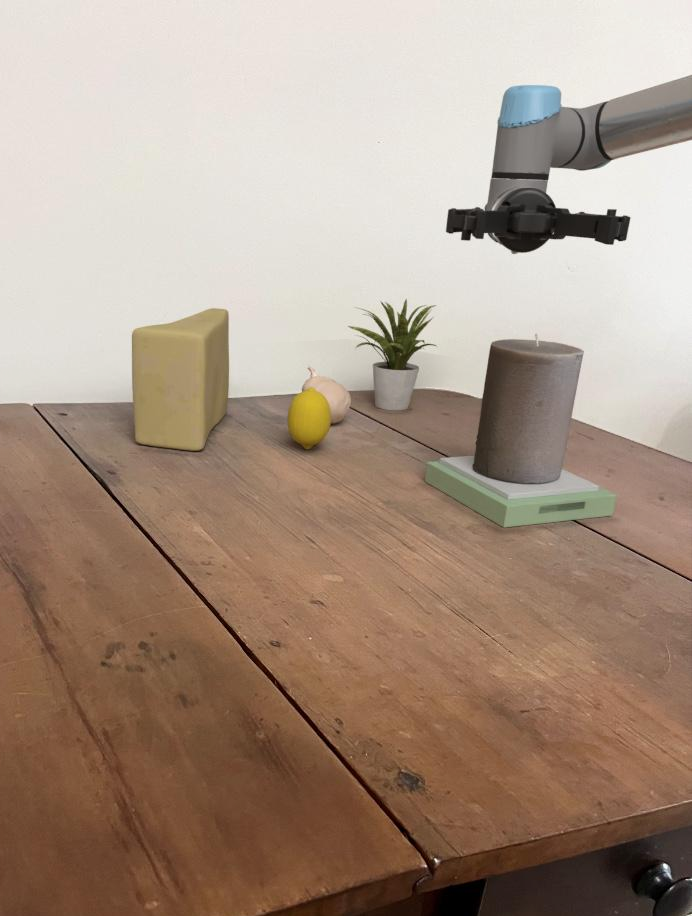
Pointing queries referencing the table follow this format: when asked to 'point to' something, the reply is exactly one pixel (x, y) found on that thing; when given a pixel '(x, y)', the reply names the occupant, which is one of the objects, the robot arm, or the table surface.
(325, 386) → the garlic bulb
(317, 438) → the lemon
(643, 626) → the table surface
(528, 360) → the pillar candle
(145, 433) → the cheese
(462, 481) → the scale
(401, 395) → the house plant
